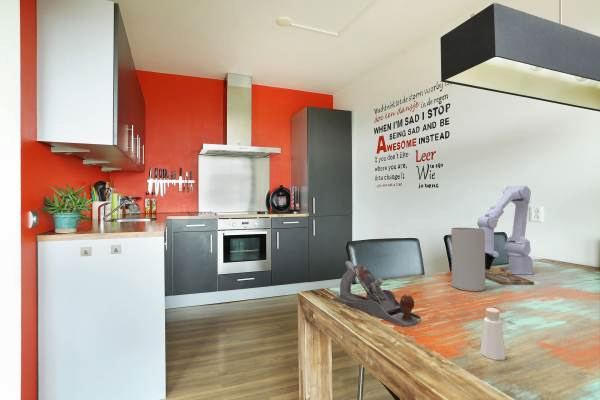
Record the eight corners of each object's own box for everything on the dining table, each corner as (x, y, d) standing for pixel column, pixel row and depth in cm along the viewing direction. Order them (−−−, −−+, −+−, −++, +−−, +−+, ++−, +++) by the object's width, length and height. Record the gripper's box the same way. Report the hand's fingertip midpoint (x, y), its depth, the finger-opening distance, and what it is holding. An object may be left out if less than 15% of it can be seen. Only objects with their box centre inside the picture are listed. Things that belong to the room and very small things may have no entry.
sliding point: (509, 275, 149) (509, 266, 149) (513, 276, 147) (513, 268, 147) (490, 275, 149) (490, 267, 149) (493, 276, 147) (493, 268, 147)
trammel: (495, 271, 160) (495, 263, 160) (525, 281, 139) (525, 272, 139) (477, 271, 160) (477, 263, 160) (504, 281, 139) (504, 272, 139)
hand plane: (406, 329, 93) (406, 278, 93) (331, 300, 120) (331, 260, 120) (424, 322, 98) (424, 273, 98) (348, 296, 125) (348, 258, 125)
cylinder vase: (482, 293, 126) (482, 230, 126) (448, 288, 133) (448, 229, 133) (487, 286, 136) (486, 228, 136) (455, 282, 143) (454, 227, 143)
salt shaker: (488, 347, 80) (488, 304, 80) (511, 357, 75) (510, 310, 75) (475, 352, 78) (474, 307, 78) (497, 362, 73) (497, 314, 73)
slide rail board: (501, 273, 161) (501, 270, 161) (533, 284, 139) (533, 281, 139) (474, 273, 161) (474, 270, 161) (502, 284, 139) (501, 282, 139)
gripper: (470, 239, 161) (470, 266, 161) (487, 243, 146) (487, 272, 146) (484, 239, 161) (484, 265, 161) (503, 243, 146) (503, 272, 146)
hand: (487, 269), depth 154 cm, fingers closed
